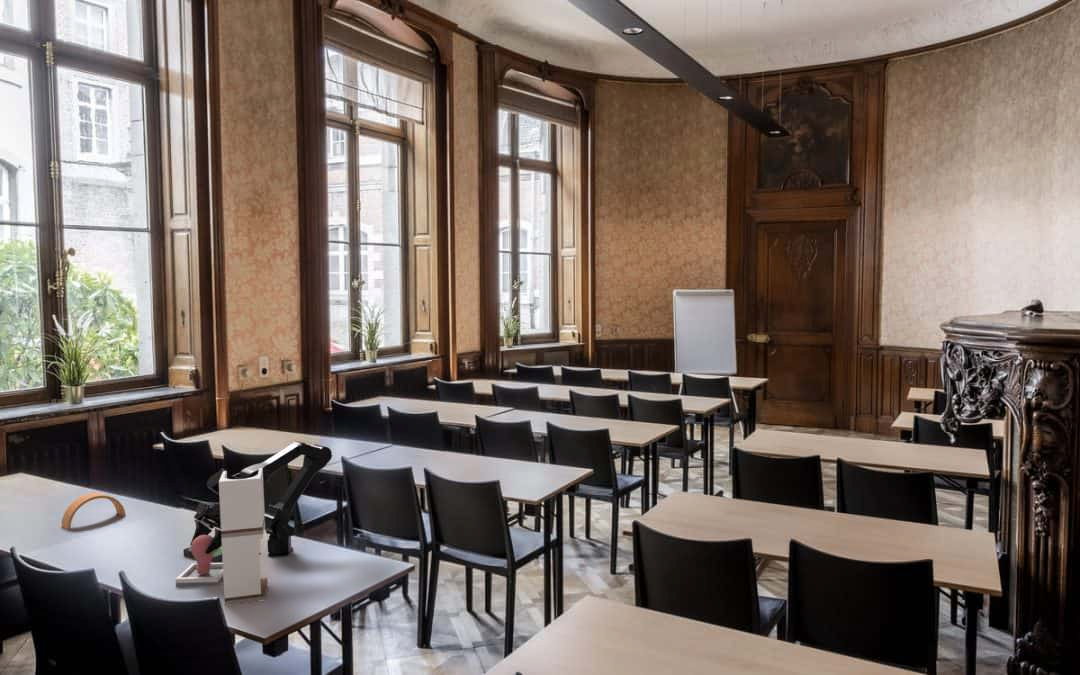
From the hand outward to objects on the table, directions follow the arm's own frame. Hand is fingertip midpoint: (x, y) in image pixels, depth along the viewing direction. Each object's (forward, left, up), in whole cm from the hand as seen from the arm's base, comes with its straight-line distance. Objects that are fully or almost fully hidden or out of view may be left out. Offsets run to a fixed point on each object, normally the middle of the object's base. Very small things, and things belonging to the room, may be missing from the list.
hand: (198, 549), depth 231 cm
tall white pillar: (-18, +12, -9) cm, 23 cm away
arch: (+61, -57, -9) cm, 84 cm away
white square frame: (-1, -1, -9) cm, 9 cm away
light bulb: (-1, -1, -8) cm, 8 cm away
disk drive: (+4, -20, -10) cm, 23 cm away
